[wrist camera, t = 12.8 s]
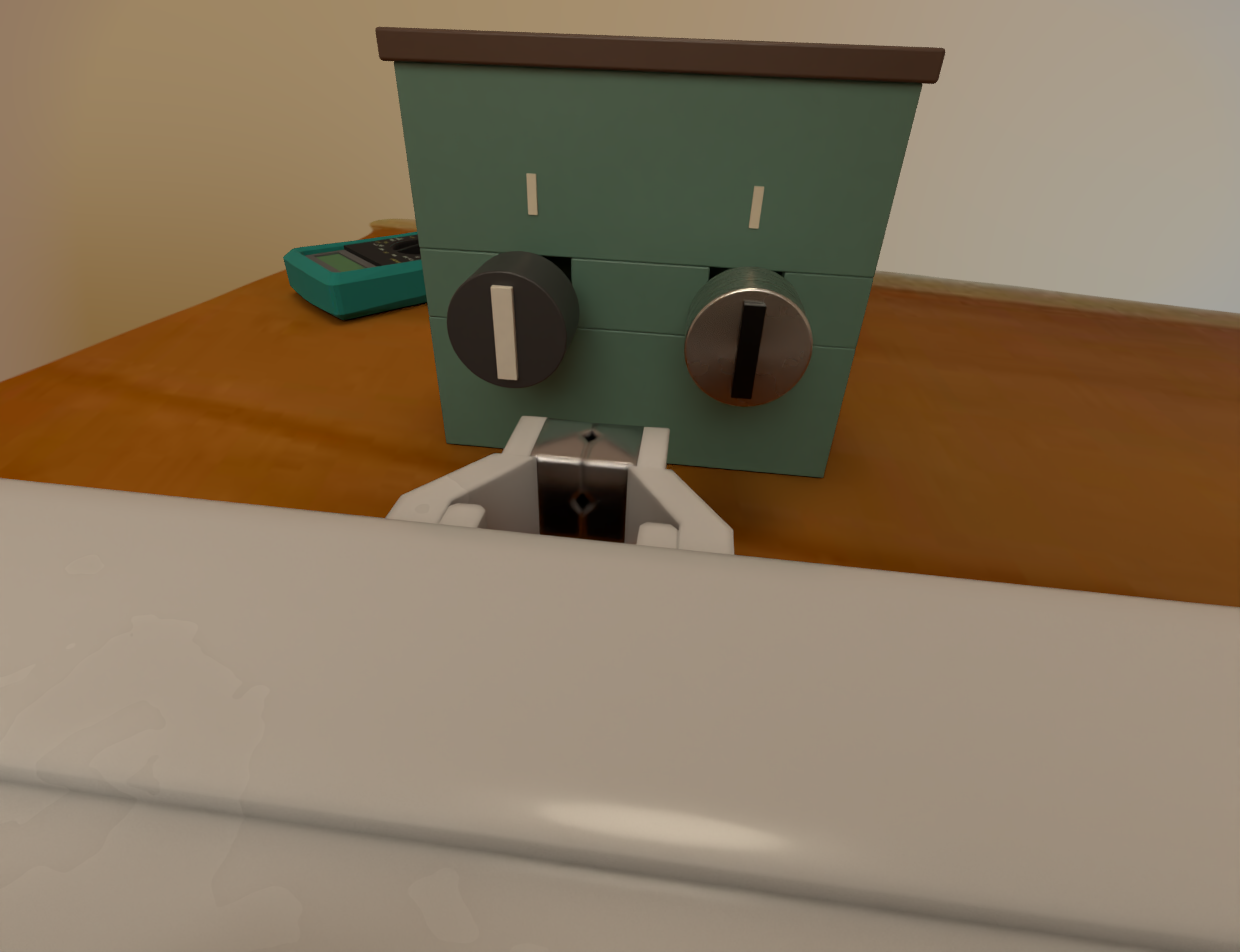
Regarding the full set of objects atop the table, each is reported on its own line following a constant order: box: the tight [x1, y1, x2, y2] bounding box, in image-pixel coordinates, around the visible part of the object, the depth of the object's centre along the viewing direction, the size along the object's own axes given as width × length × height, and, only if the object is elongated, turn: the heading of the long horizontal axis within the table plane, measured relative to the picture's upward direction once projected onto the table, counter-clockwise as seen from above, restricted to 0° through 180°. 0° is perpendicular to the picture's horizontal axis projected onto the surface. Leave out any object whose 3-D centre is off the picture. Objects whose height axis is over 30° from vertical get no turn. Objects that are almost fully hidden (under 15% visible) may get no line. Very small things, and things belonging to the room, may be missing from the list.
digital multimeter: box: [283, 232, 427, 320], centre depth 41 cm, size 7×15×3 cm, turn 133°
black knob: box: [447, 251, 579, 388], centre depth 21 cm, size 6×4×4 cm, turn 173°
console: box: [376, 27, 945, 478], centre depth 23 cm, size 6×16×14 cm, turn 83°
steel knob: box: [684, 266, 813, 407], centre depth 20 cm, size 6×4×4 cm, turn 173°
